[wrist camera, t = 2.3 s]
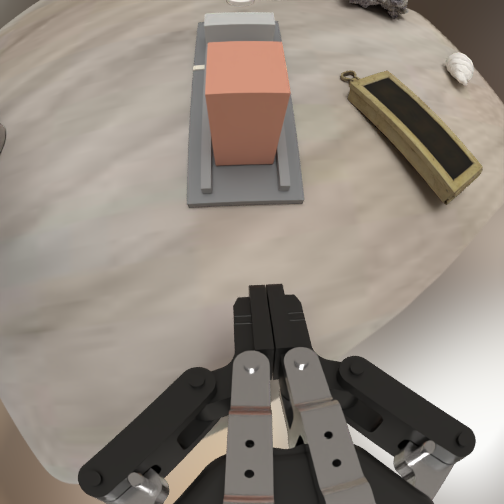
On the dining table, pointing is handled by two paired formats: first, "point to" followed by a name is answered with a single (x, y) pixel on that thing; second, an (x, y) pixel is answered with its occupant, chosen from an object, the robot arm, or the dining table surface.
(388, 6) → the mineral specimen
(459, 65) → the white seashell
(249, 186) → the grey slide track
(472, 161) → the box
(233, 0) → the medallion
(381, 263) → the dining table surface
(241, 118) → the salmon rectangular block
